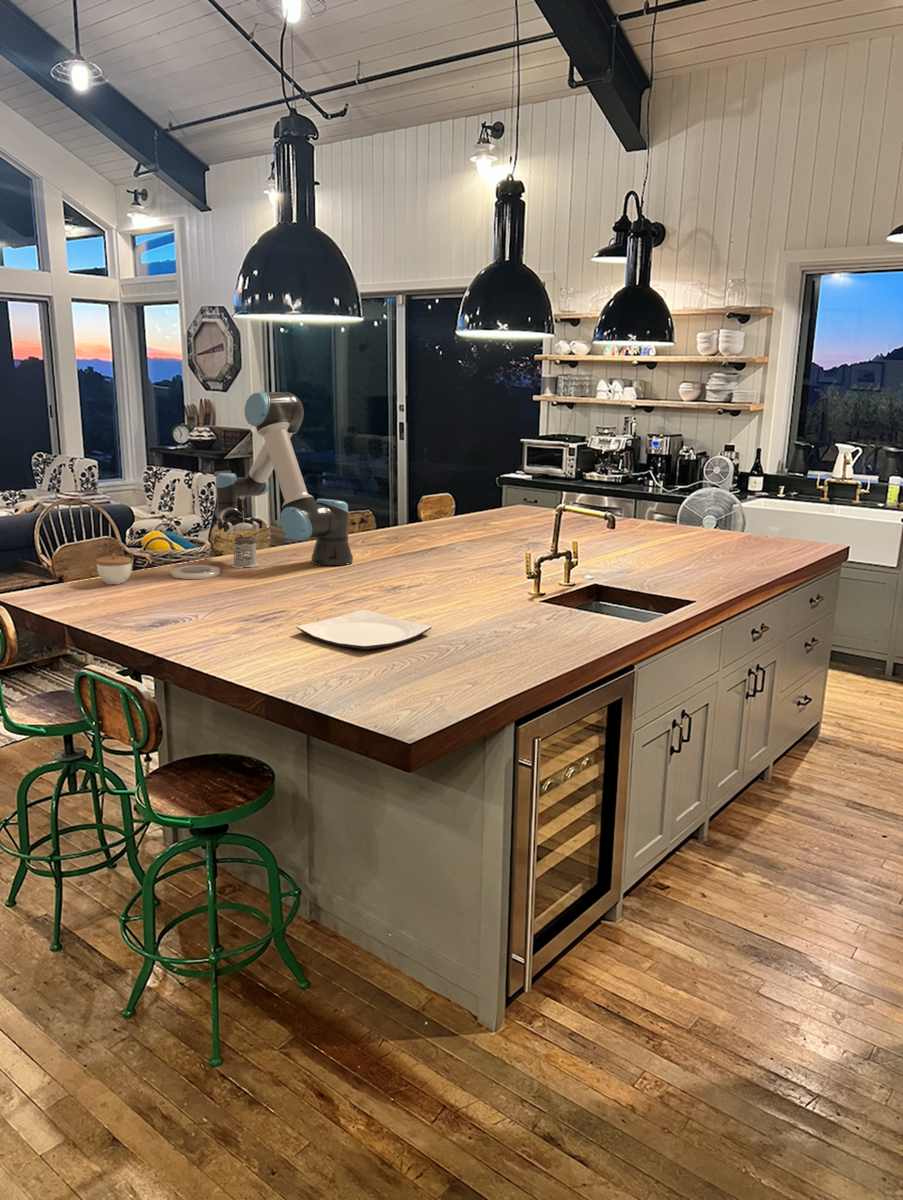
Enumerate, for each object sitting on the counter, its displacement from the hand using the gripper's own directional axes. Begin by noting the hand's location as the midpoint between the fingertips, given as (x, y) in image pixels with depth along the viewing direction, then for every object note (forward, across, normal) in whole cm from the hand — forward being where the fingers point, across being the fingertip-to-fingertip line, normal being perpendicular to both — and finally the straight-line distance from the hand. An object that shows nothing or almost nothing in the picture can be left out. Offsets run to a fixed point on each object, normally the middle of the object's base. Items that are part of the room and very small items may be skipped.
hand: (244, 528), depth 321 cm
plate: (+93, -12, -15) cm, 95 cm away
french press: (-5, 0, -14) cm, 15 cm away
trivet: (+6, +18, -14) cm, 24 cm away
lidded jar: (+10, +44, -14) cm, 48 cm away
